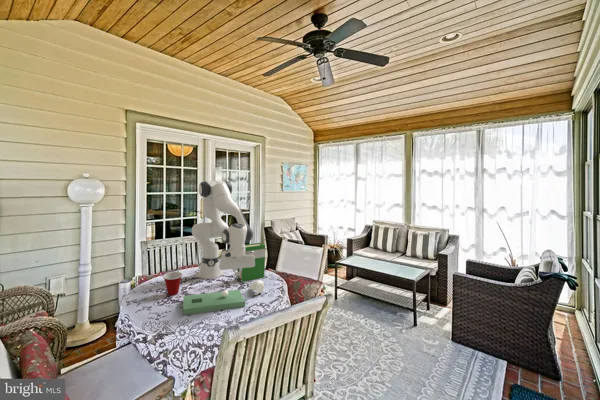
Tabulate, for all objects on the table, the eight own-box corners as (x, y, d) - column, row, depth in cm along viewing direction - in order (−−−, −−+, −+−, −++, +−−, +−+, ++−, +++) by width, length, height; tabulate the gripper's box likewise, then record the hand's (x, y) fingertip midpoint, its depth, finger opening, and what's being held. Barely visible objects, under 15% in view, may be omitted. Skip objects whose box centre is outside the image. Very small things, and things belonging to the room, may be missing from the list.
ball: (220, 296, 166) (220, 289, 166) (227, 295, 168) (227, 288, 168) (221, 299, 163) (221, 292, 162) (228, 298, 164) (228, 291, 164)
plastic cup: (160, 297, 169) (160, 277, 168) (165, 290, 180) (165, 272, 179) (180, 297, 171) (180, 277, 170) (184, 290, 182) (184, 271, 181)
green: (183, 301, 166) (183, 296, 165) (239, 294, 178) (239, 289, 177) (183, 314, 149) (183, 309, 149) (245, 306, 161) (245, 301, 161)
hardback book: (242, 281, 199) (242, 247, 197) (237, 278, 205) (237, 245, 203) (264, 277, 210) (264, 244, 208) (259, 274, 216) (259, 242, 214)
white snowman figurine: (256, 282, 174) (245, 278, 183) (257, 296, 174) (246, 292, 183) (265, 280, 179) (254, 276, 187) (265, 293, 179) (254, 290, 187)
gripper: (254, 249, 173) (253, 272, 174) (218, 252, 165) (218, 275, 166) (256, 252, 167) (256, 275, 168) (220, 254, 159) (220, 279, 160)
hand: (237, 275), depth 167 cm, fingers closed
